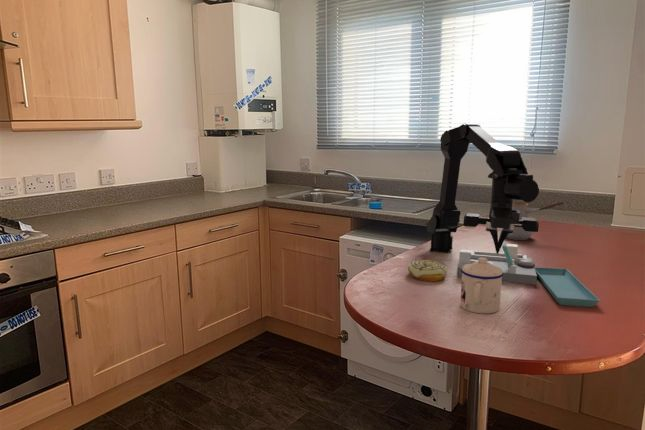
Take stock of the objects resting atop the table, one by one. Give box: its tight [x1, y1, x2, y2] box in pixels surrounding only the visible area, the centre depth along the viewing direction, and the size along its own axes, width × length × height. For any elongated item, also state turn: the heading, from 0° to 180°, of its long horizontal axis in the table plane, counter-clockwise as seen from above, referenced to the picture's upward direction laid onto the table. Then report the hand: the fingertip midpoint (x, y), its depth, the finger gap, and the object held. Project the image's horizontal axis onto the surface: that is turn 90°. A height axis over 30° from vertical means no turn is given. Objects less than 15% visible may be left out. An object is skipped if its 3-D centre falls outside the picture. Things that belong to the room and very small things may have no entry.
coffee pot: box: [505, 201, 567, 241], centre depth 173 cm, size 21×12×15 cm, turn 57°
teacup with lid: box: [460, 257, 503, 315], centre depth 107 cm, size 12×9×12 cm
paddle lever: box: [501, 243, 515, 266], centre depth 129 cm, size 1×5×7 cm, turn 161°
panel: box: [456, 250, 538, 286], centre depth 136 cm, size 20×18×4 cm
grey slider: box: [458, 248, 472, 264], centre depth 133 cm, size 3×3×4 cm
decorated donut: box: [407, 259, 448, 282], centre depth 132 cm, size 10×11×4 cm
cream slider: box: [506, 243, 519, 258], centre depth 139 cm, size 3×3×4 cm
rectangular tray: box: [534, 266, 601, 308], centre depth 122 cm, size 26×9×2 cm, turn 168°
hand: (497, 253), depth 130 cm, fingers closed
